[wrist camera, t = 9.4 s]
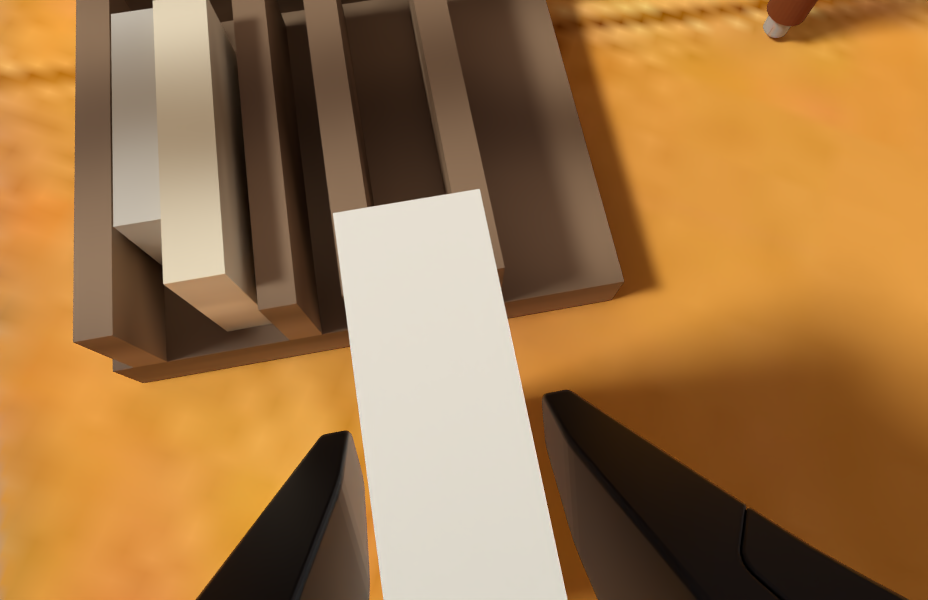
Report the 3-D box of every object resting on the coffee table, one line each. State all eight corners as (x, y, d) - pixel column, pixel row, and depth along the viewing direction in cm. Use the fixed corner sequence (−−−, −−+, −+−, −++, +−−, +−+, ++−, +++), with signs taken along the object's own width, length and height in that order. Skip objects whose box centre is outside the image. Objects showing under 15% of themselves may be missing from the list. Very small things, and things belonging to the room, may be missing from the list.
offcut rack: (611, 300, 17) (691, 186, 11) (142, 382, 17) (-46, 310, 11) (527, -12, 21) (553, -231, 15) (134, 46, 20) (-13, -158, 14)
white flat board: (508, 614, 15) (644, 961, 4) (458, 625, 15) (437, 1009, 4) (469, 407, 17) (479, 189, 5) (424, 415, 16) (333, 212, 5)
